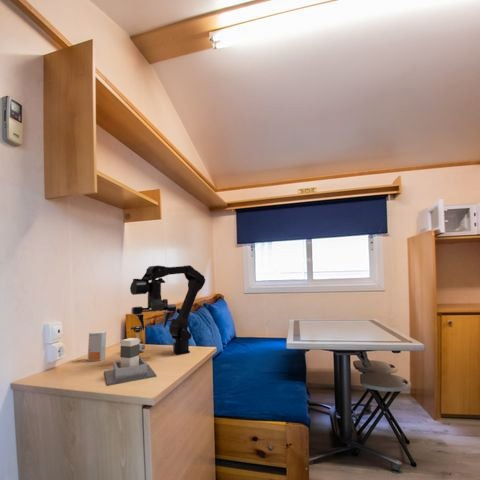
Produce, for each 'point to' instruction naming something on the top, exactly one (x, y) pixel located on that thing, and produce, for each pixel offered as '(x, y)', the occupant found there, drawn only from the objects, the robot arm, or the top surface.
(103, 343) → the skincare box
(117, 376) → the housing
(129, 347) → the plug
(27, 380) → the top surface
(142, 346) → the valve
